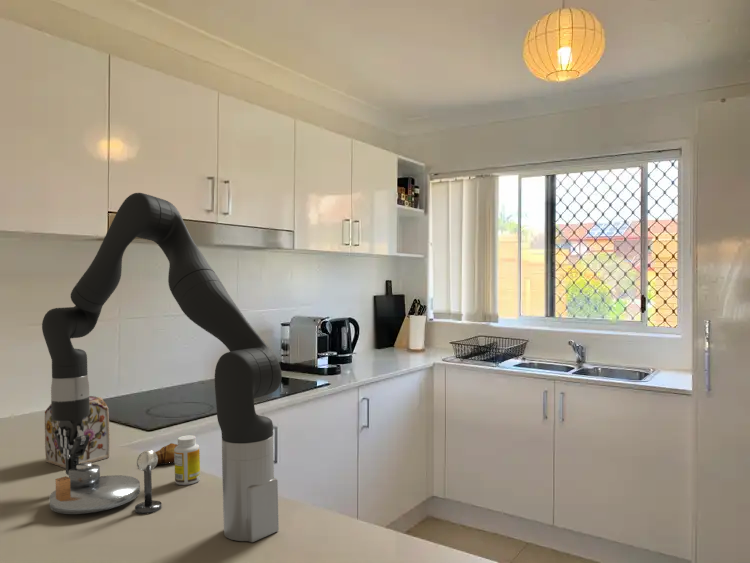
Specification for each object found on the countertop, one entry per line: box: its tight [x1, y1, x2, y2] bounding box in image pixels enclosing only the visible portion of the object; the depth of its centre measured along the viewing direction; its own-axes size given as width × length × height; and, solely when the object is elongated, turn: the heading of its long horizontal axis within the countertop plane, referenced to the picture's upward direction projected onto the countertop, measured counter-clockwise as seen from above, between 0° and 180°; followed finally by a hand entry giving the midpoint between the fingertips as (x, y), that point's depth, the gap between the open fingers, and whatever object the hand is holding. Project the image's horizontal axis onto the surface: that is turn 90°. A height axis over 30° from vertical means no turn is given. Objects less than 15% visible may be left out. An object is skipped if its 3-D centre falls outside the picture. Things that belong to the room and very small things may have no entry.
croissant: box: [154, 442, 178, 466], centre depth 147 cm, size 14×7×5 cm, turn 122°
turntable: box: [49, 474, 141, 515], centre depth 119 cm, size 17×17×6 cm
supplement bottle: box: [174, 434, 201, 486], centre depth 131 cm, size 6×6×10 cm
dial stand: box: [134, 449, 163, 515], centre depth 115 cm, size 5×5×12 cm
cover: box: [68, 462, 101, 489], centre depth 123 cm, size 6×6×4 cm
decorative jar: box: [44, 395, 111, 469], centre depth 150 cm, size 12×12×18 cm
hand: (72, 474), depth 127 cm, fingers closed
